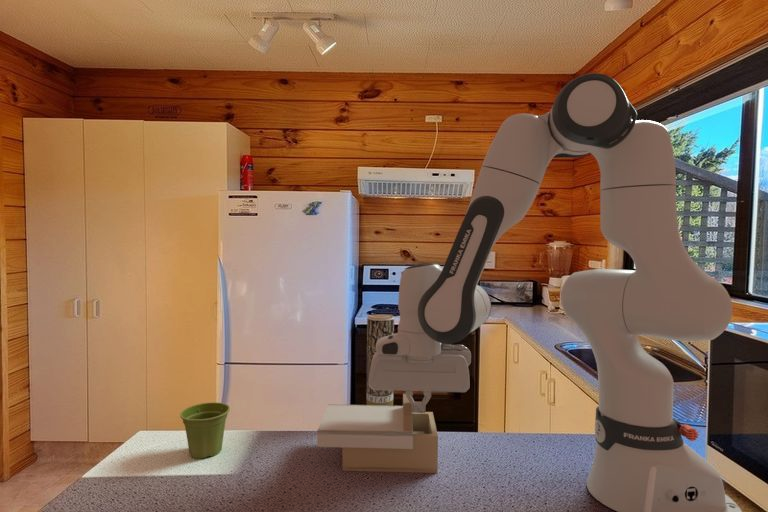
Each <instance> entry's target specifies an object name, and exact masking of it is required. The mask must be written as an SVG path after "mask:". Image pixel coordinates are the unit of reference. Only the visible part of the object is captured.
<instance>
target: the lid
mask: <svg viewBox="0 0 768 512" xmlns="http://www.w3.org/2000/svg"><path fill="white" fill-rule="evenodd" d="M316 431H317V432H316V437H317V438H316V447H319V448H343V447H349V448H391V449H413V425H412V411H411V404H410V402H409V400H408V398H407V397H406V393H402V405H393V406H387V405H367V404H333V403H332V404H329V403H328V405H327V408H326V410H325V412H324V415H323V416H322V419H321V422H320V424H319V426H318V428H317V430H316Z"/></svg>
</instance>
